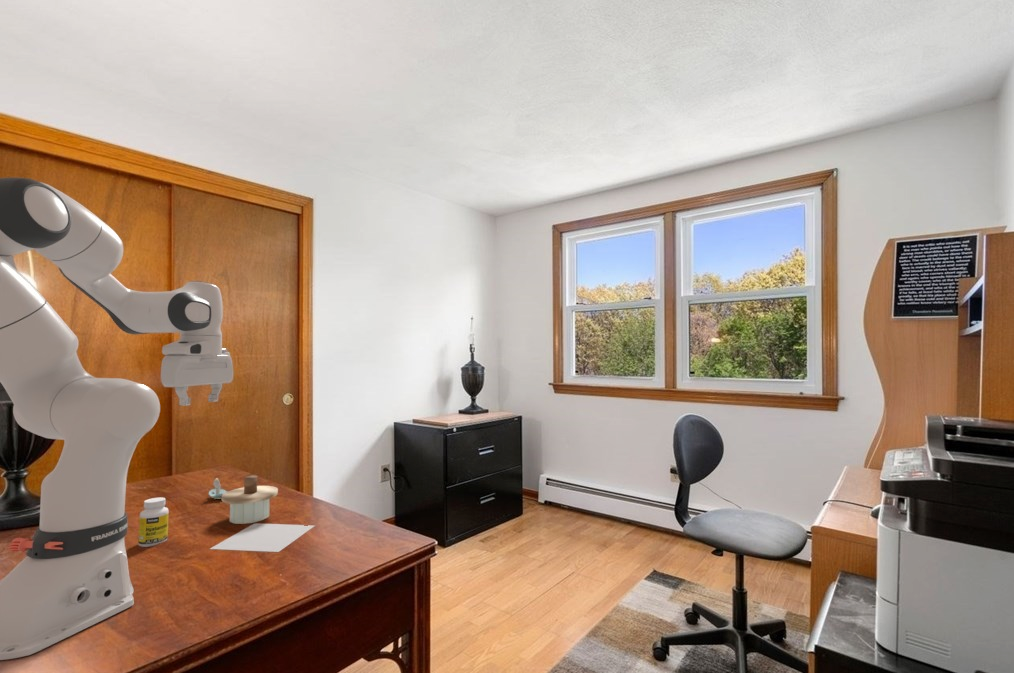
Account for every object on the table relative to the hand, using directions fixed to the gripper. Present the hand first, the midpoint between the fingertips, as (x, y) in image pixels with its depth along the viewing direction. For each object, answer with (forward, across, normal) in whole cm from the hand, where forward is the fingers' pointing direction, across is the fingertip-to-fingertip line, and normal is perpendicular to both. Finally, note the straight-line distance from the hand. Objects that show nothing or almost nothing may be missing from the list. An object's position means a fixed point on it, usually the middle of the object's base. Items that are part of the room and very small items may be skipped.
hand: (199, 403), depth 117 cm
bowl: (+31, -9, +8) cm, 33 cm away
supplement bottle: (+31, +8, -4) cm, 33 cm away
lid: (+25, -9, +8) cm, 28 cm away
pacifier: (+31, -26, -12) cm, 43 cm away
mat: (+31, +3, +20) cm, 37 cm away
